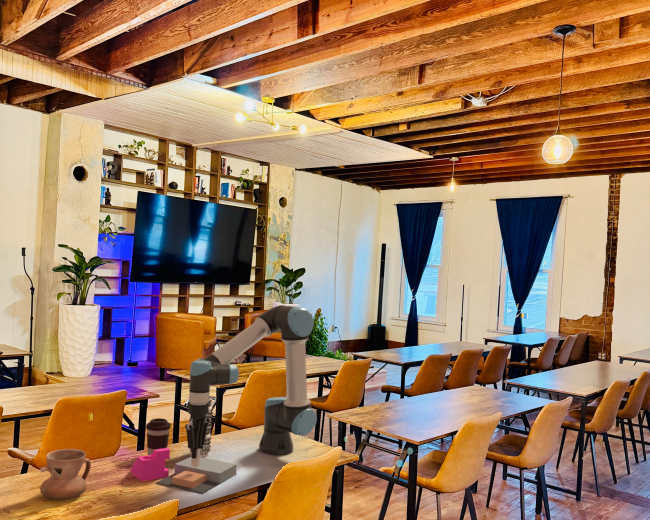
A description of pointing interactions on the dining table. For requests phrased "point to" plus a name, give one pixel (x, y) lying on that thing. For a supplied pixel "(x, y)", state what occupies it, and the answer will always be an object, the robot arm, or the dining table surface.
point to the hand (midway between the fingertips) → (195, 466)
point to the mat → (199, 489)
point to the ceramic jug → (65, 474)
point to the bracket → (151, 465)
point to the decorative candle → (206, 449)
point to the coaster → (189, 479)
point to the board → (209, 469)
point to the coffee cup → (157, 434)
